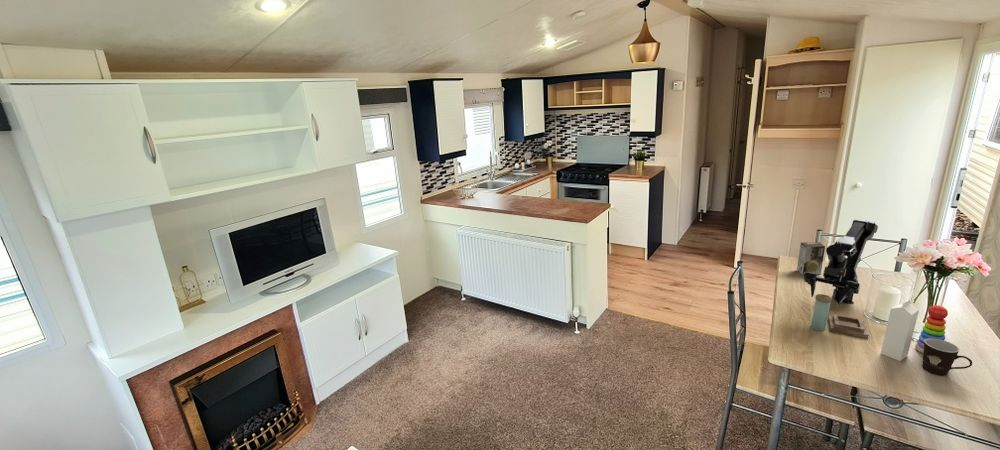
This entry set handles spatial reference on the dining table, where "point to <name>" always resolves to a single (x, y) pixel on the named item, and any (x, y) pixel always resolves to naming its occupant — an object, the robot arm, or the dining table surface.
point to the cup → (820, 312)
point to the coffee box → (810, 257)
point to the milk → (899, 331)
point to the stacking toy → (933, 326)
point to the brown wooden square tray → (848, 325)
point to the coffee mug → (940, 356)
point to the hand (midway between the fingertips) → (825, 300)
